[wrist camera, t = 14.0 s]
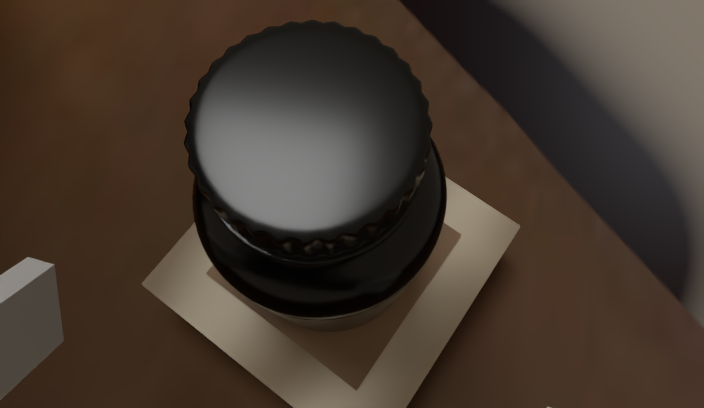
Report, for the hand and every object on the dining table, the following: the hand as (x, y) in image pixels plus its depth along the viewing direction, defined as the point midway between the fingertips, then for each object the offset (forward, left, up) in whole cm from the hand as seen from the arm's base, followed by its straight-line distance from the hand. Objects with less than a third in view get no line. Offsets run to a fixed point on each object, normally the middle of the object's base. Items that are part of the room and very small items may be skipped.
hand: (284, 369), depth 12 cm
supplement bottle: (-2, +4, -7) cm, 8 cm away
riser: (-2, +4, -11) cm, 12 cm away
